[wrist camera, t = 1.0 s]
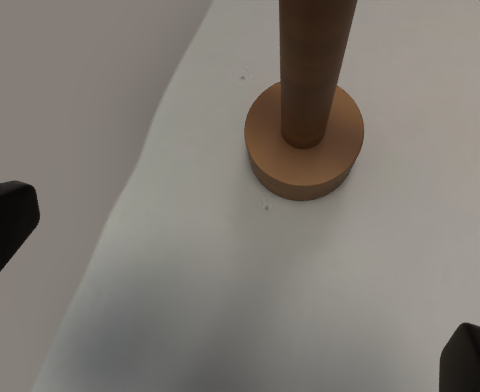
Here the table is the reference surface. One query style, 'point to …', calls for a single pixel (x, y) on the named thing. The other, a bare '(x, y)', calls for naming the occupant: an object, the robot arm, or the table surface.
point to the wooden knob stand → (306, 105)
